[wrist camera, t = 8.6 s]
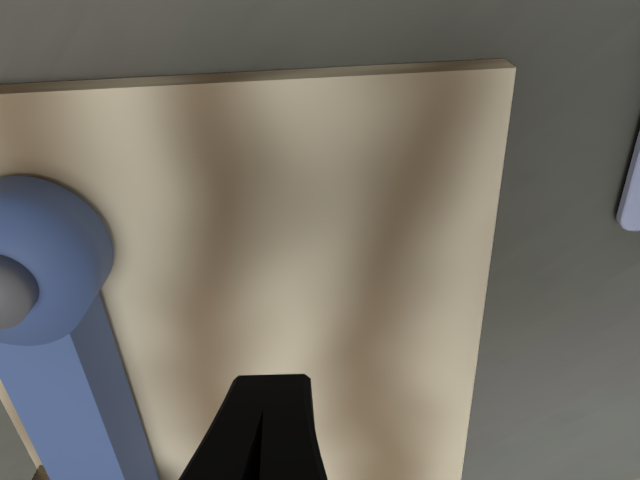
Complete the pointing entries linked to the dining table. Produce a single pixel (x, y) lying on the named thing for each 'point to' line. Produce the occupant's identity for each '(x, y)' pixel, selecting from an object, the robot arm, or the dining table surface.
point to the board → (288, 243)
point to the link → (64, 336)
